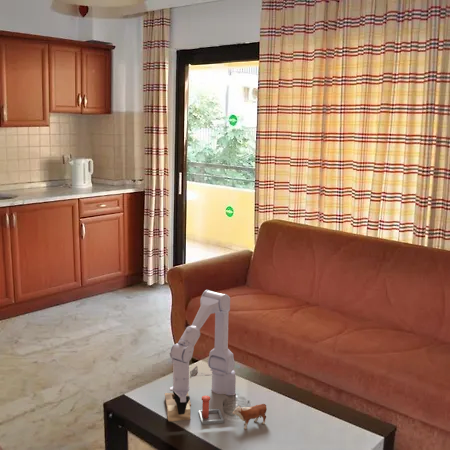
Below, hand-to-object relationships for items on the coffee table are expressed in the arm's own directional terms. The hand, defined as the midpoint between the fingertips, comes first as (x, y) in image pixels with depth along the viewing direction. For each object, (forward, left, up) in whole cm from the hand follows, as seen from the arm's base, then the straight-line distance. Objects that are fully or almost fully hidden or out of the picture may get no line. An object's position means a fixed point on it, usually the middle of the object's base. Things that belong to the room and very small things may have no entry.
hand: (180, 410), depth 203 cm
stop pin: (-9, +1, -3) cm, 10 cm away
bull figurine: (-25, +7, -4) cm, 26 cm away
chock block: (+1, 0, -4) cm, 4 cm away
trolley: (0, -10, -4) cm, 10 cm away
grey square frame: (-11, +2, -4) cm, 12 cm away
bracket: (-14, -33, -4) cm, 36 cm away
